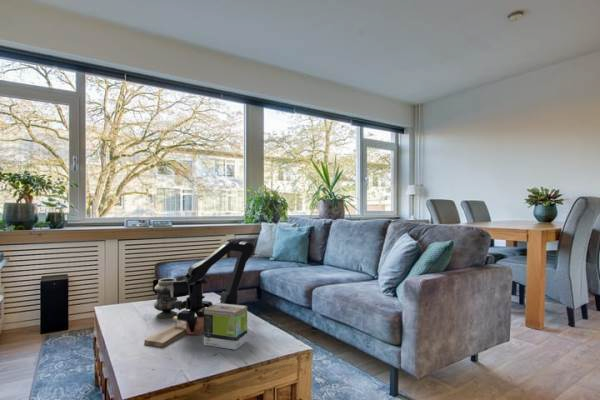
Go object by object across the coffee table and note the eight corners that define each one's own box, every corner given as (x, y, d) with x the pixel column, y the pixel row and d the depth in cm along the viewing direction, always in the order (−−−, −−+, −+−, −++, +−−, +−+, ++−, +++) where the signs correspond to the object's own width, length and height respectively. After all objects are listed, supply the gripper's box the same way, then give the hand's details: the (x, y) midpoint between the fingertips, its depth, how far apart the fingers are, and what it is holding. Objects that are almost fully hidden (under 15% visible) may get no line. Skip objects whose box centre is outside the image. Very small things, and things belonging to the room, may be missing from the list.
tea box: (248, 340, 139) (248, 305, 139) (235, 351, 130) (235, 312, 130) (216, 336, 144) (216, 301, 144) (202, 345, 134) (202, 308, 135)
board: (194, 328, 152) (194, 324, 152) (163, 347, 132) (163, 342, 132) (177, 326, 155) (177, 322, 155) (144, 344, 135) (144, 339, 135)
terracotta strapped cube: (204, 330, 149) (204, 317, 149) (198, 335, 144) (198, 321, 144) (177, 327, 153) (177, 314, 153) (170, 331, 148) (170, 317, 148)
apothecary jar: (184, 314, 171) (184, 278, 172) (163, 321, 161) (164, 283, 161) (169, 309, 178) (169, 276, 178) (148, 316, 168) (149, 280, 168)
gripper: (192, 287, 159) (192, 320, 159) (166, 298, 141) (166, 335, 141) (213, 289, 156) (213, 323, 156) (189, 300, 138) (188, 338, 138)
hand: (195, 329), depth 148 cm, fingers closed on terracotta strapped cube, 5 cm apart
